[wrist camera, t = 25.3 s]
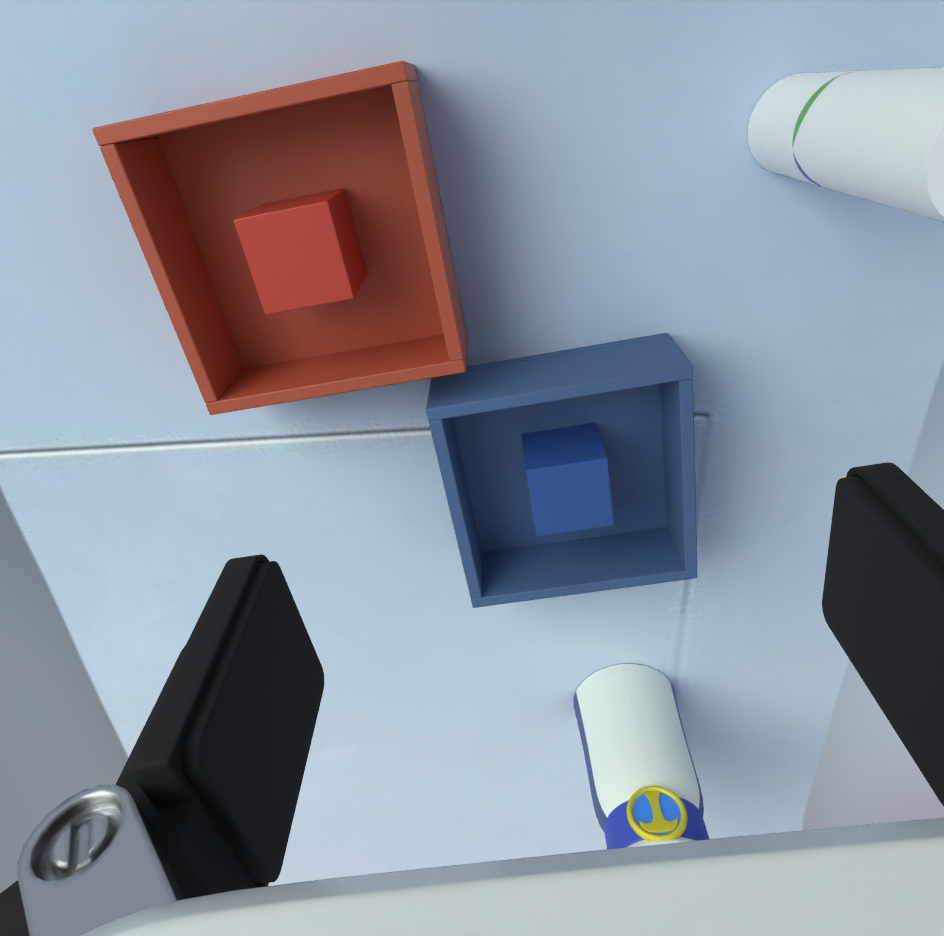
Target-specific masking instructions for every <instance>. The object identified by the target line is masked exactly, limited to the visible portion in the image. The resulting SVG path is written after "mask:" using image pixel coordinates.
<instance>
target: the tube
mask: <svg viewBox="0 0 944 936" xmlns="http://www.w3.org/2000/svg"><path fill="white" fill-rule="evenodd" d="M748 144H749V148H750V151H751V153H752V155H753V157H754V159H755V160H756V161H757V163H758V164H760V165H761V166H762V167H763V168H765V169H767V170H769V171H771V172H774V173H778V174H781V175H785V176H788V177H792V178H795V179H798V180H802V181H805V182H809V183H812V184H816V185H819V186H823V187H826V188H829V189H833V190H836V191H840V192H843V193H847V194H850V195H853V196H857V197H860V198H864V199H867V200H871V201H874V202H877V203H881V204H884V205H888V206H891V207H895V208H898V209H902V210H905V211H908V212H912V213H915V214H919V215H922V216H926V217H929V218H932V219H936V220H939V221H943V222H944V67H932V68H909V69H885V70H863V71H841V72H819V73H798V74H794V75H790V76H787V77H785V78H783V79H781V80H779V81H778V82H776V83H775V84H773V85H772V86H771V87H770V88H769V89H768V90H767V91H766V92H765V93H764V94H763V95H762V97H761V98H760V99H759V101H758V102H757V104H756V106H755V108H754V110H753V111H752V114H751V117H750V120H749V125H748Z"/></svg>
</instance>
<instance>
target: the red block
mask: <svg viewBox="0 0 944 936" xmlns="http://www.w3.org/2000/svg"><path fill="white" fill-rule="evenodd" d="M233 221H234V224H235V227H236V230H237V233H238V236H239V239H240V242H241V245H242V248H243V251H244V254H245V256H246V259H247V262H248V265H249V268H250V271H251V274H252V277H253V280H254V283H255V286H256V289H257V292H258V295H259V298H260V301H261V303H262V306H263V309H264V312H265V314H266V315H268V314H273V313H279V312H284V311H290V310H295V309H301V308H306V307H312V306H317V305H323V304H328V303H334V302H339V301H345V300H350V299H354V298H355V296H356V294H357V293H358V291H359V289H360V288H361V286H362V284H363V283H364V281H365V279H366V278H367V271H366V268H365V264H364V260H363V256H362V252H361V248H360V244H359V240H358V236H357V232H356V229H355V225H354V221H353V217H352V213H351V209H350V205H349V201H348V197H347V194H346V190H345V188H342V189H337V190H332V191H327V192H322V193H317V194H312V195H307V196H302V197H297V198H292V199H287V200H282V201H277V202H272V203H267V204H262V205H260V206H258V207H256V208H254V209H252V210H250V211H248V212H247V213H245V214H243V215H241V216H239V217H237V218H235V219H234V220H233Z"/></svg>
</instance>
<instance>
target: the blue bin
mask: <svg viewBox="0 0 944 936" xmlns="http://www.w3.org/2000/svg"><path fill="white" fill-rule="evenodd" d="M692 378H693V366H692V365H691V363H690V362H689V361H688V359H687V358H686V357H685V355H684V354H683V353H682V352H681V350H680V349H679V348H678V346H677V345H676V344H675V342H674V341H673V340H672V338H671V337H670V336H669V335H668V333H665V334H659V335H653V336H647V337H641V338H635V339H630V340H624V341H618V342H612V343H606V344H600V345H594V346H588V347H582V348H576V349H570V350H565V351H559V352H553V353H547V354H541V355H535V356H529V357H523V358H517V359H511V360H505V361H500V362H494V363H488V364H482V365H476V366H470V367H466V372H463V373H457V374H451V375H445V376H439V377H433V378H431V384H430V389H429V395H428V401H427V407H426V412H427V416H428V420H429V425H430V429H431V433H432V437H433V441H434V446H435V450H436V454H437V458H438V463H439V467H440V471H441V475H442V479H443V484H444V488H445V492H446V496H447V500H448V505H449V509H450V513H451V517H452V521H453V526H454V530H455V534H456V538H457V543H458V547H459V551H460V555H461V559H462V564H463V568H464V572H465V576H466V580H467V585H468V589H469V593H470V597H471V602H472V606H473V608H475V607H483V606H490V605H498V604H505V603H513V602H520V601H528V600H535V599H543V598H550V597H558V596H565V595H573V594H580V593H588V592H595V591H603V590H610V589H618V588H625V587H633V586H640V585H648V584H655V583H663V582H670V581H678V580H685V579H693V578H697V537H696V492H695V448H694V403H693V379H692ZM589 423H596V426H597V429H598V432H599V435H600V438H601V441H602V443H603V446H604V449H605V452H606V455H607V458H608V467H609V478H610V488H611V499H612V509H613V520H614V525H613V526H606V527H599V528H592V529H585V530H578V531H571V532H564V533H557V534H550V535H543V536H536V531H535V525H534V519H533V513H532V507H531V501H530V495H529V489H528V483H527V477H526V471H525V462H524V454H523V445H522V437H521V434H525V433H531V432H538V431H544V430H550V429H557V428H563V427H570V426H576V425H582V424H589Z"/></svg>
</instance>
